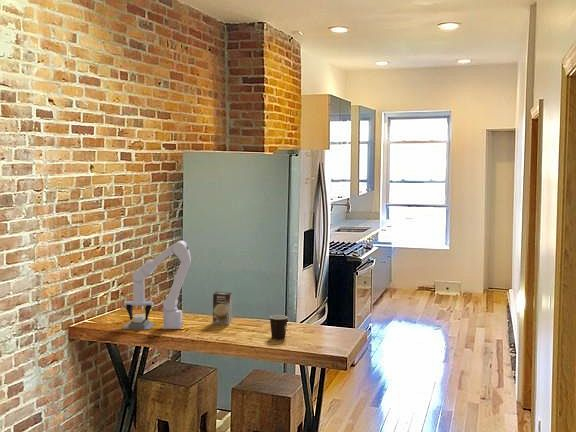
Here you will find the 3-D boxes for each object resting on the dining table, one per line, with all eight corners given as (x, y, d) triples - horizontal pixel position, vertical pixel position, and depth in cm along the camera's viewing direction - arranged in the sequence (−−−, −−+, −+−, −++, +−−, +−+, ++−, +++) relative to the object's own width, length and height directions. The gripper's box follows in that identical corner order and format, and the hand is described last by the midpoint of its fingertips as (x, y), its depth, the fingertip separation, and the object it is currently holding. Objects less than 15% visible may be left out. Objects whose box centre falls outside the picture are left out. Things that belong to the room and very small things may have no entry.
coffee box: (211, 324, 339) (212, 293, 338) (214, 321, 345) (214, 291, 344) (229, 325, 338) (229, 294, 337) (231, 322, 344) (232, 292, 343)
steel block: (141, 326, 329) (141, 317, 328) (132, 326, 329) (132, 316, 328) (144, 323, 336) (144, 314, 335) (136, 323, 336) (136, 313, 335)
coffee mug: (277, 334, 322) (277, 314, 321) (290, 337, 316) (291, 317, 316) (261, 338, 313) (261, 318, 312) (275, 342, 308) (275, 321, 307)
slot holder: (155, 323, 338) (155, 318, 338) (149, 330, 325) (150, 325, 325) (128, 323, 338) (128, 318, 338) (121, 329, 325) (121, 324, 325)
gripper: (155, 292, 334) (154, 318, 336) (126, 291, 335) (126, 317, 336) (152, 294, 327) (151, 321, 329) (123, 294, 327) (123, 321, 329)
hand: (138, 319), depth 332 cm, fingers open, 7 cm apart
